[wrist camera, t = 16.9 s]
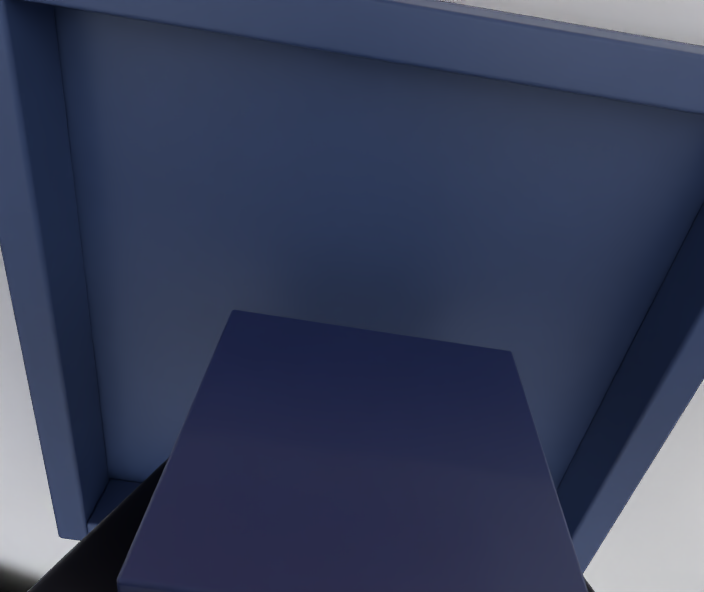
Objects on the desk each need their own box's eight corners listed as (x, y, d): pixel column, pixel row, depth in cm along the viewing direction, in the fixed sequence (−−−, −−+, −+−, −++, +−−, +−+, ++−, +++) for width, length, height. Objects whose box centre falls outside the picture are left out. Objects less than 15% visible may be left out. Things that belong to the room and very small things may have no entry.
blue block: (512, 349, 9) (608, 647, 5) (446, 526, 11) (478, 820, 7) (231, 307, 9) (114, 582, 5) (223, 496, 11) (139, 780, 7)
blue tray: (797, 62, 10) (889, 85, 8) (545, 538, 17) (564, 606, 15) (17, -73, 9) (-69, -79, 8) (93, 475, 16) (57, 539, 15)
